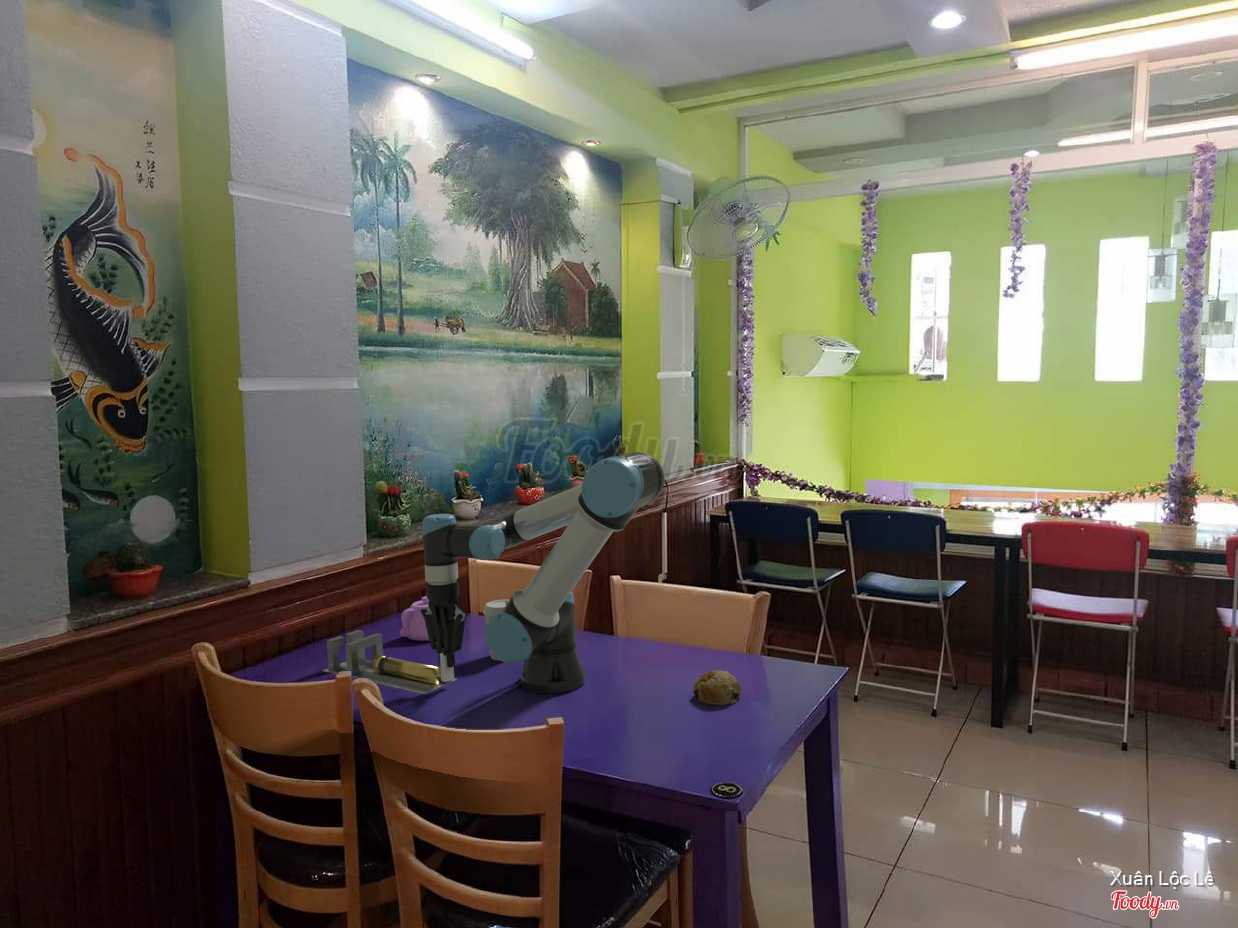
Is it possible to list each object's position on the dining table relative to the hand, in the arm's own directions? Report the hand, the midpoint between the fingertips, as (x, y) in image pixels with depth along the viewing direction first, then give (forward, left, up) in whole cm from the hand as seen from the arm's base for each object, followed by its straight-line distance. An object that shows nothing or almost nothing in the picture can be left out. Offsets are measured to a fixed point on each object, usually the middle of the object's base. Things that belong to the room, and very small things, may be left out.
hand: (447, 679), depth 201 cm
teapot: (+35, -30, -3) cm, 47 cm away
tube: (+14, 0, -2) cm, 14 cm away
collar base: (+20, 0, -3) cm, 21 cm away
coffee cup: (+3, -24, -3) cm, 24 cm away
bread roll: (-57, -25, -3) cm, 63 cm away
